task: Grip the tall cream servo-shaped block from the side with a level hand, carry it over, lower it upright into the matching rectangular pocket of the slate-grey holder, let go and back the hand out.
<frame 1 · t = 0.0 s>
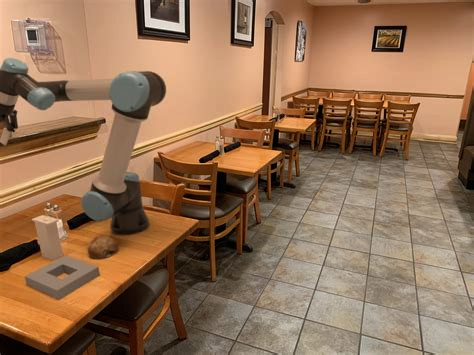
cream block: (52, 255, 125), on the table
grey holder: (63, 279, 109), on the table
bread roll: (102, 253, 126), on the table
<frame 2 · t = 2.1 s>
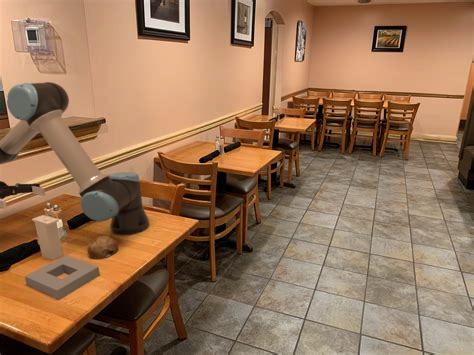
hand: (25, 198, 124), 20 cm above the table, tool horizontal, fingers open, 13 cm apart
nothing on the table moved.
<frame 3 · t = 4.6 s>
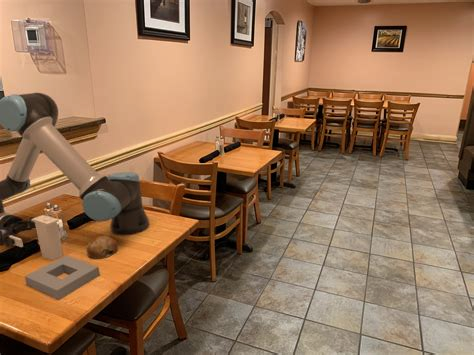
hand: (40, 235, 124), 7 cm above the table, tool horizontal, fingers open, 13 cm apart
nothing on the table moved.
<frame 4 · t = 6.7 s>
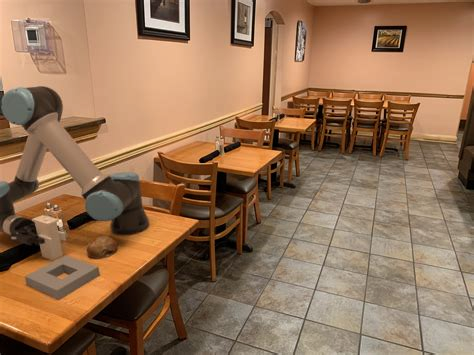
hand: (58, 239, 120), 8 cm above the table, tool horizontal, fingers closed on cream block, 4 cm apart
cream block: (52, 255, 125), on the table, touching gripper
everything else where it was.
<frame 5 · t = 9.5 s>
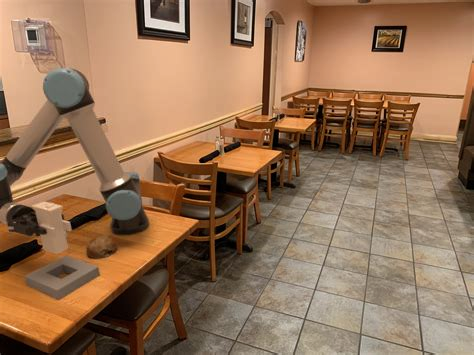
hand: (62, 229, 102), 18 cm above the table, tool horizontal, fingers closed on cream block, 4 cm apart
cream block: (56, 249, 107), point 10 cm above the table, touching gripper
everything else where it was.
when the fingers open (9 cm above the table, at t = 12.4 s): cream block drops 1 cm, resting in grey holder.
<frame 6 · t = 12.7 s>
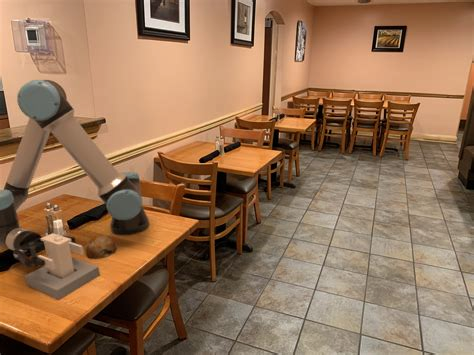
hand: (68, 257, 105), 9 cm above the table, tool horizontal, fingers open, 9 cm apart
cream block: (63, 279, 109), resting in grey holder
everything else where it was.
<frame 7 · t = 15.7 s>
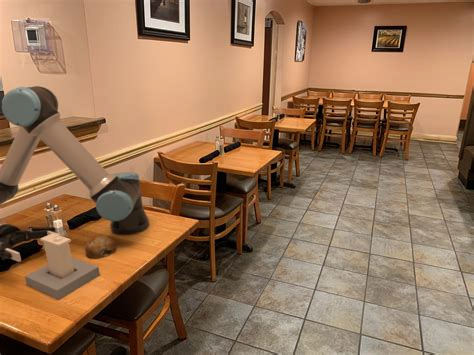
hand: (41, 247, 111), 9 cm above the table, tool horizontal, fingers open, 13 cm apart
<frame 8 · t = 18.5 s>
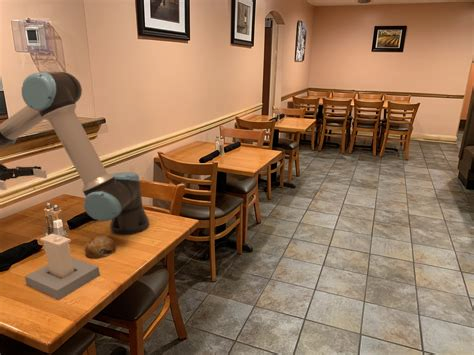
hand: (25, 179, 117), 28 cm above the table, tool horizontal, fingers open, 13 cm apart
at the end: cream block 0.0 cm off-centre on the grey holder, point 0.0 cm above the grey holder's base; cream block tilted 0°; the gripper is holding nothing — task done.
